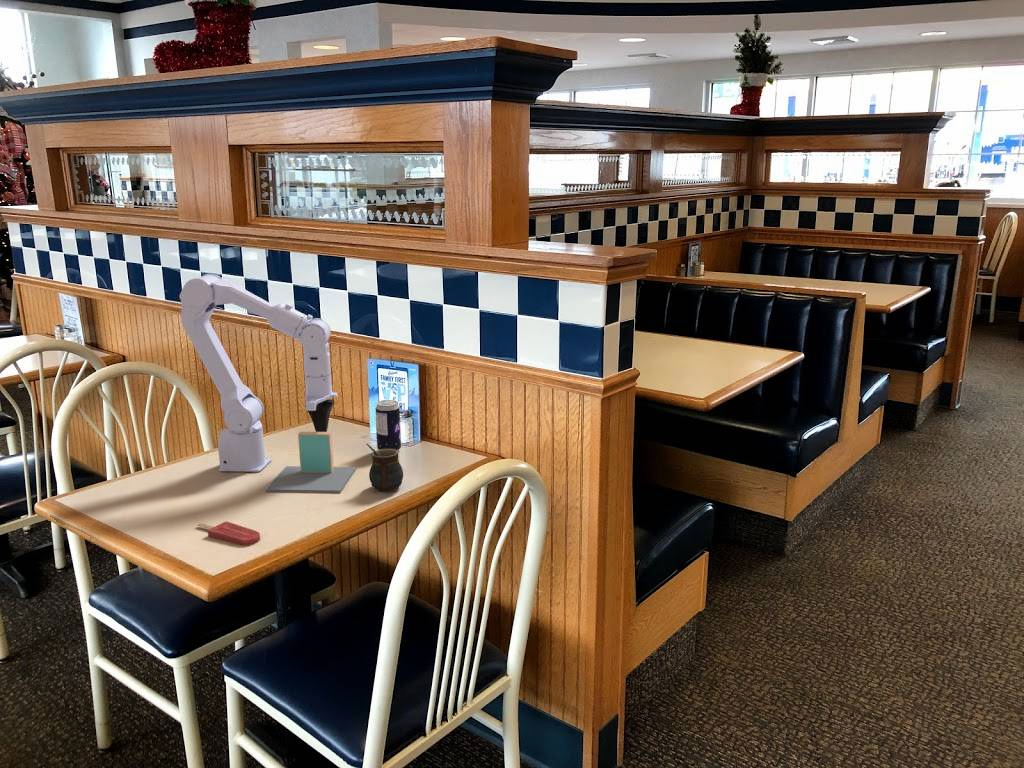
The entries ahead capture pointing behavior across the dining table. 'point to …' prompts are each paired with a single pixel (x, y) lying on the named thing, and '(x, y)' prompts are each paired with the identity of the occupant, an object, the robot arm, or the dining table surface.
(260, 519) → the dining table surface
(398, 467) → the mate gourd
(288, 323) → the robot arm
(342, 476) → the slate pad
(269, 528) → the dining table surface
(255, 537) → the popsicle
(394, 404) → the beverage can
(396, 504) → the dining table surface
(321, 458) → the tile
